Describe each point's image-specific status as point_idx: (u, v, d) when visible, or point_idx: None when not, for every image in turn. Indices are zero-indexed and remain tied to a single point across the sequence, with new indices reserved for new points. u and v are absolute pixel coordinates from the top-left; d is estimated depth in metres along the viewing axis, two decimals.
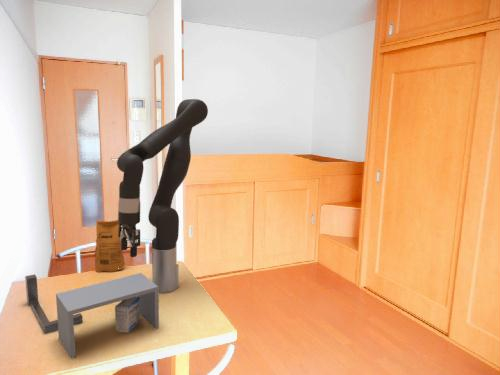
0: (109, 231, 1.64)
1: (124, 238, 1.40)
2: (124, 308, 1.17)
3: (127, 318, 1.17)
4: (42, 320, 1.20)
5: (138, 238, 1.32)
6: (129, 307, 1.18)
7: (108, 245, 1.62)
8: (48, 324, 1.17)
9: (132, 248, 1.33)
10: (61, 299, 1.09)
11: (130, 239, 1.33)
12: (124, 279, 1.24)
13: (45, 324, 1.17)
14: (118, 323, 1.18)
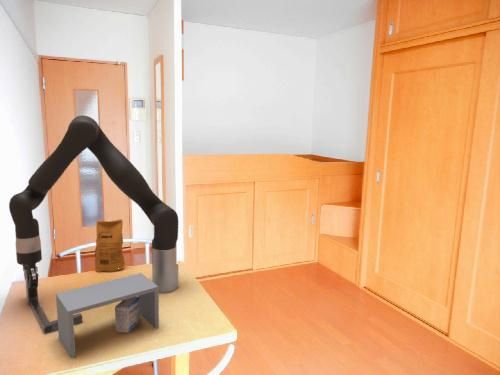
0: (109, 231, 1.64)
1: None
2: (124, 308, 1.17)
3: (127, 318, 1.17)
4: (42, 320, 1.20)
5: (35, 281, 1.29)
6: (129, 307, 1.18)
7: (108, 245, 1.62)
8: (48, 324, 1.17)
9: (30, 289, 1.31)
10: (61, 299, 1.09)
11: (28, 280, 1.30)
12: (124, 279, 1.24)
13: (45, 324, 1.17)
14: (118, 323, 1.18)
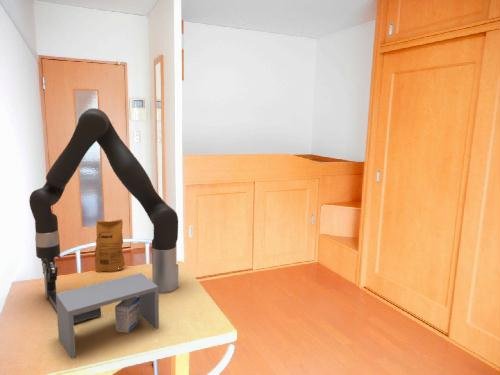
0: (109, 231, 1.64)
1: None
2: (124, 308, 1.17)
3: (127, 318, 1.17)
4: None
5: (55, 275, 1.33)
6: (129, 307, 1.18)
7: (108, 245, 1.62)
8: None
9: (49, 282, 1.35)
10: (61, 299, 1.09)
11: (47, 274, 1.34)
12: (124, 279, 1.24)
13: None
14: (118, 323, 1.18)
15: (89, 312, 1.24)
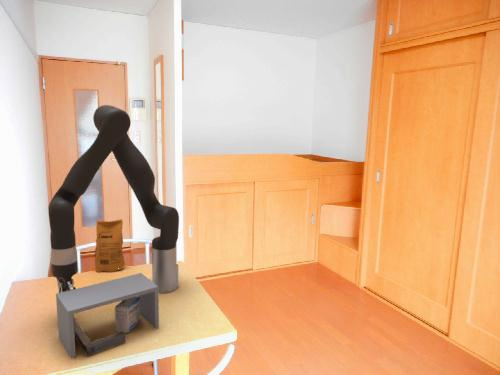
0: (109, 231, 1.64)
1: None
2: (124, 308, 1.17)
3: (127, 318, 1.17)
4: (82, 340, 1.09)
5: None
6: (129, 307, 1.18)
7: (108, 245, 1.62)
8: (90, 345, 1.06)
9: None
10: (61, 299, 1.09)
11: None
12: (124, 279, 1.24)
13: (87, 345, 1.06)
14: (118, 323, 1.18)
15: (113, 339, 1.10)
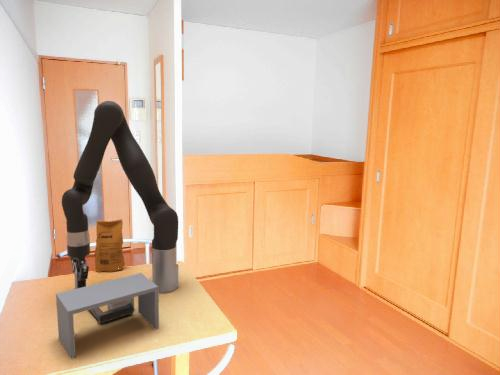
0: (109, 231, 1.64)
1: None
2: None
3: (111, 304, 1.26)
4: (96, 310, 1.26)
5: (86, 274, 1.35)
6: None
7: (108, 245, 1.62)
8: (103, 314, 1.23)
9: (80, 281, 1.37)
10: (61, 299, 1.09)
11: (78, 273, 1.36)
12: (124, 279, 1.24)
13: (100, 314, 1.23)
14: (108, 306, 1.28)
15: (122, 310, 1.26)
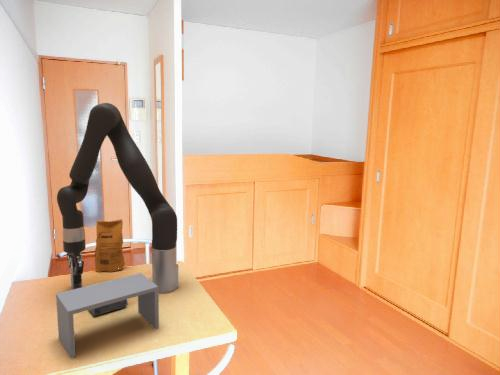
0: (109, 231, 1.64)
1: None
2: None
3: None
4: None
5: (81, 268, 1.39)
6: None
7: (108, 245, 1.62)
8: (97, 307, 1.27)
9: (75, 276, 1.41)
10: (61, 299, 1.09)
11: (74, 268, 1.40)
12: (124, 279, 1.24)
13: None
14: None
15: (115, 304, 1.31)
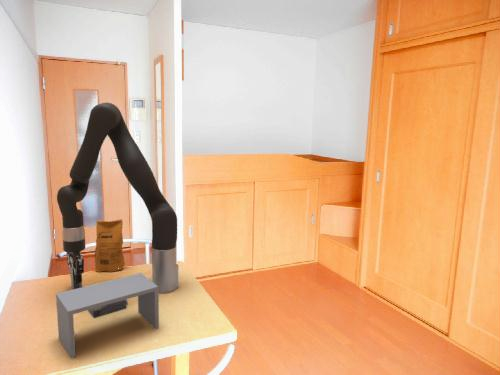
0: (109, 231, 1.64)
1: None
2: None
3: None
4: None
5: (81, 267, 1.38)
6: None
7: (108, 245, 1.62)
8: (97, 309, 1.27)
9: (76, 275, 1.40)
10: (61, 299, 1.09)
11: (74, 267, 1.40)
12: (124, 279, 1.24)
13: (94, 309, 1.27)
14: None
15: (115, 305, 1.31)
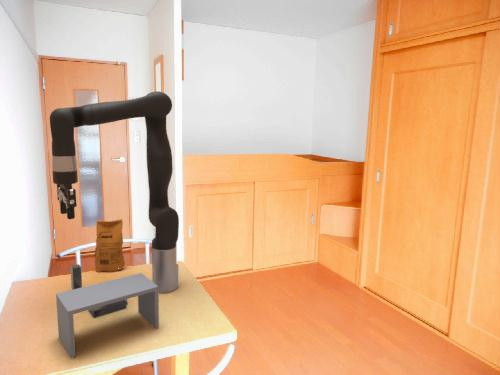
0: (109, 231, 1.64)
1: None
2: None
3: None
4: None
5: (73, 198, 1.24)
6: None
7: (108, 245, 1.62)
8: (97, 309, 1.27)
9: (68, 209, 1.25)
10: (61, 299, 1.09)
11: (66, 200, 1.25)
12: (124, 279, 1.24)
13: (94, 309, 1.27)
14: None
15: (115, 305, 1.31)
